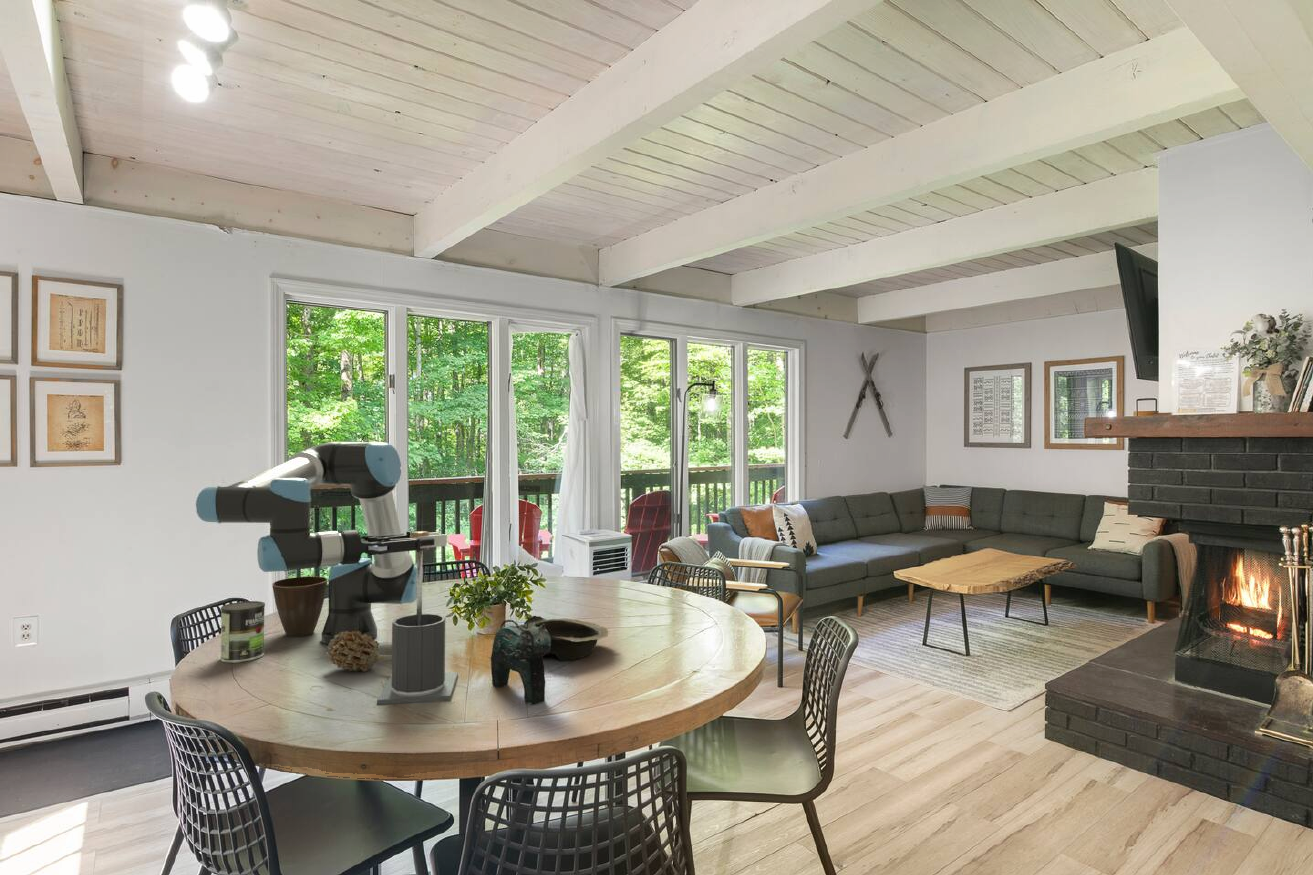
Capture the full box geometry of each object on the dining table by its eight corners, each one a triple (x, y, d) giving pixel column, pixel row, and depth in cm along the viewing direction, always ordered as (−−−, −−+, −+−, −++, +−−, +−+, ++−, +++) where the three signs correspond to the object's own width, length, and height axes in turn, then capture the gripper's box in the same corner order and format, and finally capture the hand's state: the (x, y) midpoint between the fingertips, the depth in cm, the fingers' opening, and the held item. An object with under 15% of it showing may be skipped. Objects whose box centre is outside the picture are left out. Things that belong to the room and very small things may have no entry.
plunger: (402, 639, 166) (403, 530, 166) (441, 637, 168) (442, 529, 168) (394, 651, 157) (395, 535, 157) (436, 649, 159) (437, 534, 159)
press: (391, 679, 170) (391, 611, 170) (457, 675, 173) (458, 608, 173) (376, 704, 154) (377, 628, 154) (450, 699, 157) (451, 626, 157)
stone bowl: (501, 657, 188) (503, 622, 188) (555, 640, 210) (556, 610, 210) (576, 670, 176) (577, 634, 177) (625, 652, 198) (626, 619, 199)
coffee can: (273, 652, 190) (273, 601, 190) (244, 664, 180) (244, 610, 180) (241, 649, 193) (242, 599, 192) (210, 661, 182) (211, 608, 182)
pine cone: (316, 675, 173) (317, 635, 173) (338, 662, 182) (338, 625, 182) (399, 679, 170) (400, 639, 170) (417, 666, 180) (417, 628, 180)
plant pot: (311, 641, 201) (311, 586, 201) (261, 640, 201) (261, 586, 201) (336, 627, 216) (336, 576, 216) (289, 626, 216) (289, 575, 216)
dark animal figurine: (553, 702, 157) (554, 615, 157) (529, 709, 152) (530, 620, 152) (506, 679, 171) (507, 599, 171) (483, 686, 166) (483, 603, 166)
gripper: (328, 559, 157) (428, 549, 172) (350, 571, 144) (456, 559, 159) (329, 526, 157) (428, 519, 172) (350, 535, 144) (456, 527, 159)
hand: (441, 538), depth 166 cm, fingers closed on plunger, 4 cm apart
